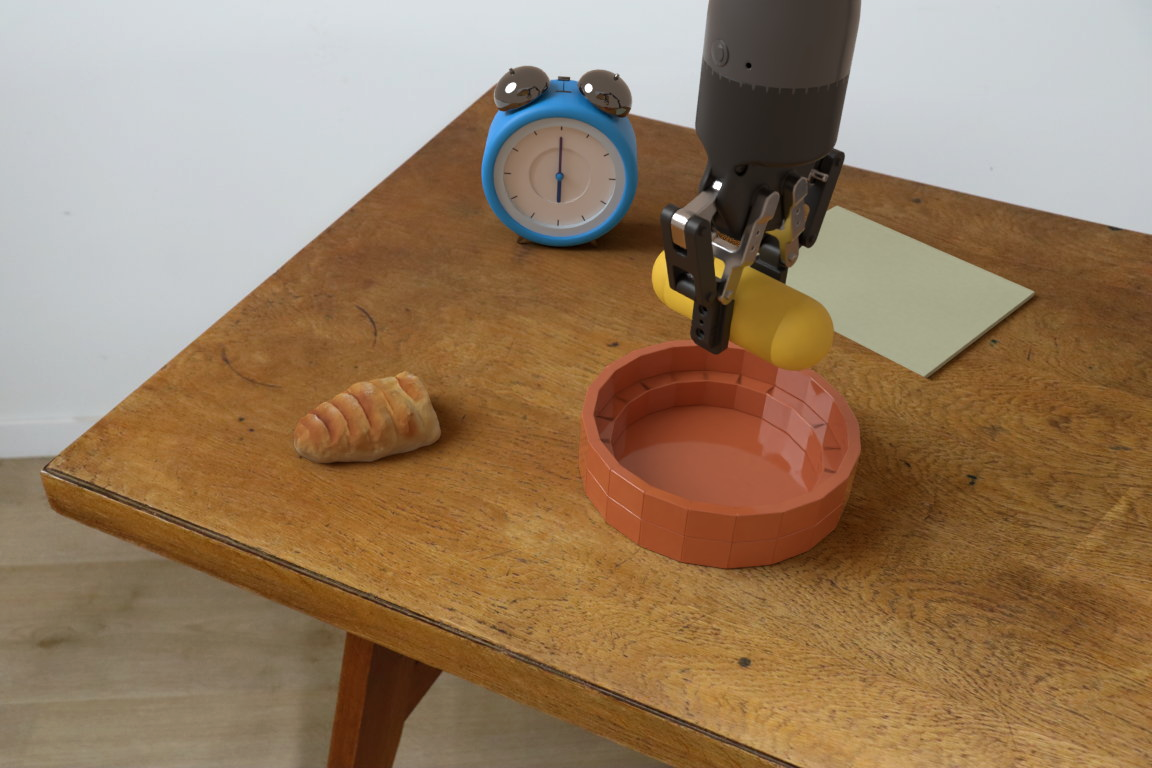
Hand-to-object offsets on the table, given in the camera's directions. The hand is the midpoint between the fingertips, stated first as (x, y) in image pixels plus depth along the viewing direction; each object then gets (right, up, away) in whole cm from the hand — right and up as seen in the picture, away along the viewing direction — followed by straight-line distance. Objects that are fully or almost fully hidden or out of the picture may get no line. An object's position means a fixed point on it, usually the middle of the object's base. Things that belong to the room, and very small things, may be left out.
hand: (735, 329), depth 67 cm
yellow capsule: (0, 0, 0) cm, 0 cm away
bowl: (-1, -9, +7) cm, 12 cm away
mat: (+15, +5, +27) cm, 31 cm away
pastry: (-23, -7, +9) cm, 26 cm away
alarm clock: (-11, +10, +32) cm, 36 cm away
